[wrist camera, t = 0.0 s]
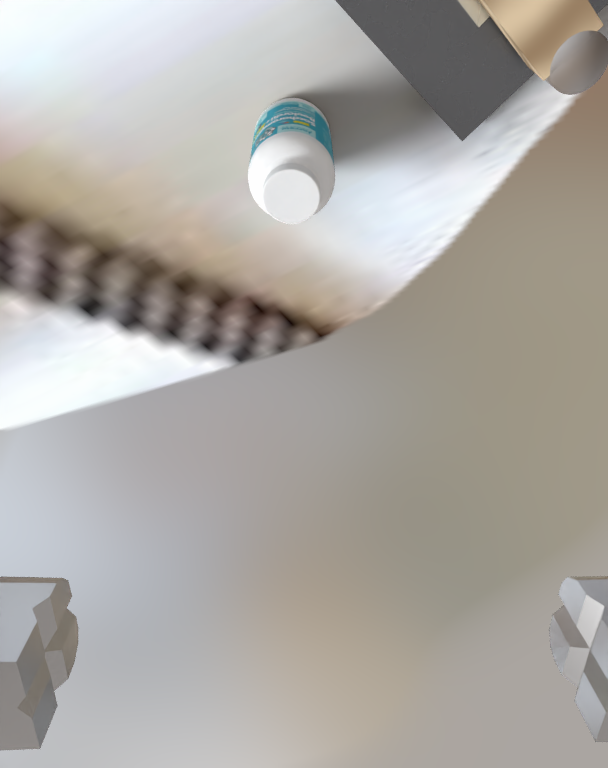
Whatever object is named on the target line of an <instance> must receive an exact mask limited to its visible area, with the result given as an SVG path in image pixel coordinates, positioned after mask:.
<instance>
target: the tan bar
mask: <svg viewBox="0 0 608 768" xmlns="http://www.w3.org/2000/svg"><path fill="white" fill-rule="evenodd" d="M478 1H479V2H480V3H481V5H482V6H483V7H484V9H485V10H486V11H487V13H488V14H489V15H490V17H491V18H492V19H493V21H494V22H495V23H496V25H497V26H498V27H499V29H500V30H501V31H502V33H503V34H504V35H505V37H506V38H507V39H508V41H509V42H510V43H511V45H512V46H513V47H514V49H515V50H516V51H517V53H518V54H519V55H520V57H521V58H522V59H523V61H524V62H525V63H526V65H527V66H528V67H529V68H530V69H531V70H532V71H533V72H534V73H536V74H537V75H538V76H539V77H540V78H541V79H542V80H543V81H544V80H546V81H547V82H548V83H550V84H551V85H552V86H553V87H554V88H555V89H556V90H558V91H559V92H561V93H563V94H568V95H572V94H578V93H581V92H583V91H585V90H587V89H589V88H590V87H591V86H593V85H594V84H595V83H596V82H597V81H598V80H599V79H600V77H601V76H602V75H603V73H604V71H605V70H606V67H607V65H608V41H607V39H606V38H605V36H603V35H602V34H601V33H599V32H597V31H598V30H599V29H600V28H601V27H602V26H603V23H602V22H601V20H600V19H599V17H598V15H597V14H596V12H595V11H594V9H593V7H592V6H591V4H590V3H589V1H588V0H478Z"/></svg>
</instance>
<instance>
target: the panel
mask: <svg viewBox="0 0 608 768" xmlns="http://www.w3.org/2000/svg"><path fill="white" fill-rule="evenodd" d="M588 1H589V3H590V4H591V6H592V7H593V9H594V11H595V12H596V14H597V13H598V12H599V11H600V10H601V9H602V8H603V7H605V6H606V5H607V4H608V0H588ZM336 2H337V3H338V4H339V5H340V6H341V7H342V8H343V9H344V10H345V12H346V13H347V14H348V15H349V16H350V17H351V18H352V19H353V20H354V22H355V23H356V24H357V25H358V26H359V27H360V28H361V29H362V30H363V32H364V33H365V34H366V35H367V36H368V37H369V38H370V39H371V40H372V42H373V43H374V44H375V45H376V46H377V47H378V48H379V49H380V50H381V52H382V53H383V54H384V55H385V56H386V57H387V58H388V59H389V60H390V62H391V63H392V64H393V65H394V66H395V67H396V68H397V69H398V70H399V72H400V73H401V74H402V75H403V76H404V77H405V78H406V79H407V80H408V82H409V83H410V84H411V85H412V86H413V87H414V88H415V89H416V90H417V91H418V93H419V94H420V95H421V96H422V97H423V98H424V99H425V100H426V101H427V103H428V104H429V105H430V106H431V107H432V108H433V109H434V110H435V111H436V113H437V114H438V115H439V116H440V117H441V118H442V119H443V120H444V121H445V123H446V124H447V125H448V126H449V127H450V128H451V129H452V130H453V131H454V133H455V134H456V135H457V136H458V137H459V138H460V139H461V140H462V141H463V140H464V139H465V138H466V137H467V136H468V135H469V134H470V133H471V132H472V131H474V130H475V129H476V128H477V127H478V126H479V125H480V124H481V123H482V122H483V121H484V120H485V119H486V118H487V117H488V116H489V115H490V114H491V113H493V112H494V111H495V110H496V109H497V108H498V107H499V106H500V105H501V104H502V103H503V102H504V101H505V100H506V99H507V98H508V97H509V96H511V95H512V94H513V93H514V92H515V91H516V90H517V89H518V88H519V87H520V86H521V85H522V84H523V83H524V82H525V81H526V80H527V79H528V78H530V77H531V76H532V75H533V74H534V72H533V71H532V70H531V69H530V68H529V67H528V66H527V65H526V63H525V62H524V61H523V59H522V58H521V57H520V55H519V54H518V53H517V51H516V50H515V49H514V47H513V46H512V45H511V43H510V42H509V41H508V39H507V38H506V37H505V35H504V34H503V33H502V31H501V30H500V29H499V27H498V26H497V25H496V23H495V22H494V21H493V19H492V18H491V17H490V15H489V14H488V13H487V11H486V10H485V9H484V7H483V6H482V5H481V3H480V2H479V1H478V0H336Z"/></svg>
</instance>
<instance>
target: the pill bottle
mask: <svg viewBox="0 0 608 768" xmlns="http://www.w3.org/2000/svg"><path fill="white" fill-rule="evenodd" d="M248 182H249V187H250V191H251V193H252V196H253V198H254V199H255V201H256V203H257V204H258V205H259V206H260V207H261V208H262V209H263V210H264V211H265V212H267V213H268V214H269V215H271V216H272V217H273V218H274V219H276V220H278V221H280V222H282V223H286V224H298V223H301V222H304V221H306V220H308V219H309V218H310V217H311V216H313V215H314V214H316V213H317V212H319V211H320V210H321V209H322V208H323V207H324V206H325V205H326V203H327V202H328V201H329V199H330V197H331V195H332V192H333V189H334V184H335V169H334V160H333V150H332V141H331V133H330V128H329V124H328V122H327V120H326V118H325V116H324V115H323V113H322V112H321V111H320V110H319V109H318V108H317V107H316V106H315V105H313V104H312V103H310V102H308V101H306V100H303V99H299V98H286V99H282V100H279V101H277V102H275V103H273V104H271V105H270V106H269V107H267V108H266V109H265V110H264V112H263V113H262V114H261V116H260V117H259V119H258V122H257V124H256V127H255V132H254V138H253V145H252V151H251V157H250V164H249V171H248Z"/></svg>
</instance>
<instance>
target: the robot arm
mask: <svg viewBox="0 0 608 768" xmlns="http://www.w3.org/2000/svg"><path fill="white" fill-rule="evenodd" d="M558 595H559V596H560V598H561V600H562V601H563V603H564V605H563V606H562V607H561V608H560V609H559V610H558V611H556V612H555V613H554V614H553V615H552V620H551V624H550V628H549V634H550V647H551V650H552V654H553V657H554V660H555V662H556V664H557V666H558V669H559V671H560V673H561V675H562V676H564V677H565V678H566V679H567V680H569V681H570V682H571V683H572V684H574V685H575V686H576V687H577V692H576V696H575V703H576V705H577V706H578V709H579V711H580V713H581V715H582V716H583V718H584V720H585V723H586V724H587V726H588V728H589V730H590V732H591V734H592V736H593V738H594V740H595V742H608V576H592V577H591V576H586V577H585V576H583V577H567V578H566V579H565V580H564V581H563V582H562V584H561V587H560V591H559V594H558ZM71 597H72V594H71V590H70V586H69V582H68V580H66V579H64V578H38V577H36V578H35V577H0V750H19V749H20V750H21V749H40V748H41V745H42V742H43V740H44V738H45V735H46V733H47V730H48V728H49V725H50V723H51V720H52V718H53V715H54V713H55V710H56V708H57V702H56V697H55V693H54V691H55V690H56V689H57V688H58V687H59V686H60V685H62V684H63V683H64V682H65V681H66V680H67V679H68V678H69V675H70V672H71V670H72V667H73V665H74V661H75V657H76V651H77V646H78V624H77V619H76V616H75V615H74V614H72V613H71V612H70V611H69V610H68V609H67V606H68V604H69V602H70V599H71Z"/></svg>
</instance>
